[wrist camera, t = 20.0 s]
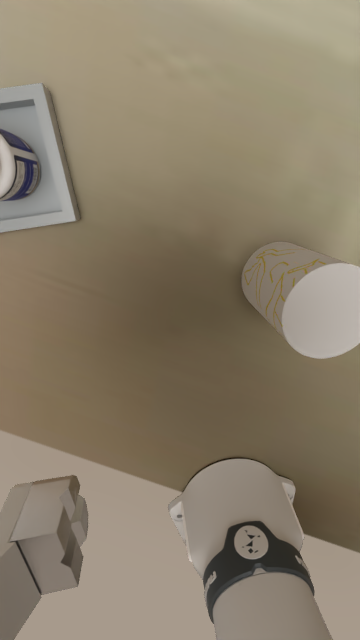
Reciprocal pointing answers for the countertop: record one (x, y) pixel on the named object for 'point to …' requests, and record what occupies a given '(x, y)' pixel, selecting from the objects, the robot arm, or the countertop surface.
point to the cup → (305, 297)
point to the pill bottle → (17, 168)
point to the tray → (44, 138)
